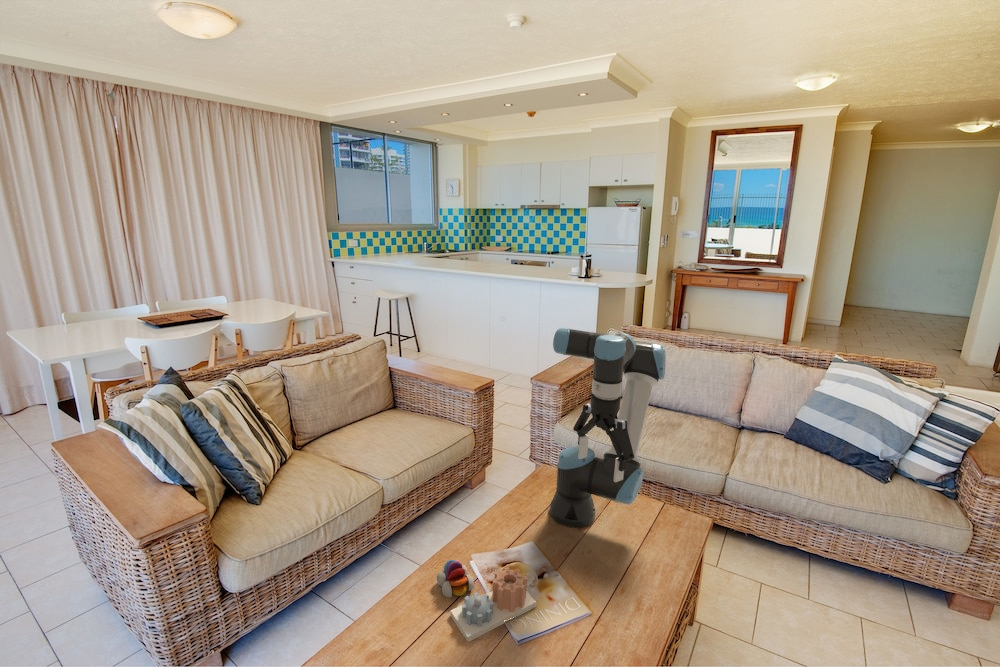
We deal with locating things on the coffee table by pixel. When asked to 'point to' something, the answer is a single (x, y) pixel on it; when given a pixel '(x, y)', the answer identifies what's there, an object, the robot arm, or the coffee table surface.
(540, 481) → the coffee table surface
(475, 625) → the gear board
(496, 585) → the gear
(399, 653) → the coffee table surface
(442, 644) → the coffee table surface
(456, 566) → the white-domed colorful disc toy
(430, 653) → the coffee table surface
